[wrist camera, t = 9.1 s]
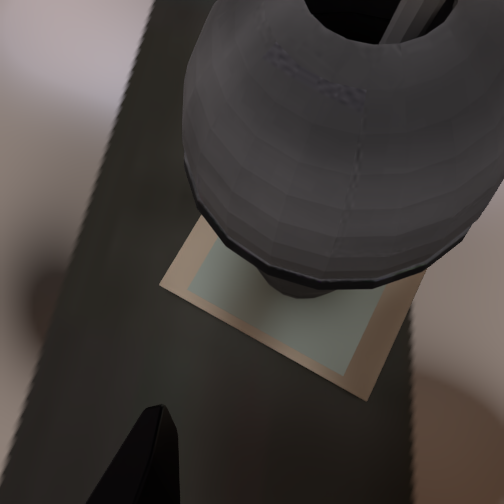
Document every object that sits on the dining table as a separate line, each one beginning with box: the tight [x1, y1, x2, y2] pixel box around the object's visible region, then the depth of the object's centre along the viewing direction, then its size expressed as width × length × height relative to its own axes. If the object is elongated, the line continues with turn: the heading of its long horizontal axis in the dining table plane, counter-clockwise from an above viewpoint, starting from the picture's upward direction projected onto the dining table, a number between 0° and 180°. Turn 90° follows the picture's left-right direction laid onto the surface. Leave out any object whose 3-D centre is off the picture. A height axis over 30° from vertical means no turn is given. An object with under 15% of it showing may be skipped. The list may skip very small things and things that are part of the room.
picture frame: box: [159, 215, 427, 401], centre depth 21 cm, size 12×10×2 cm
